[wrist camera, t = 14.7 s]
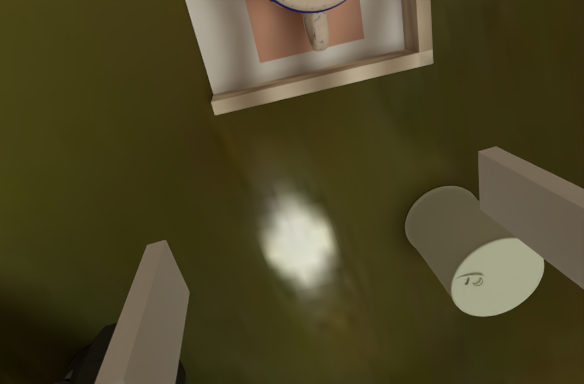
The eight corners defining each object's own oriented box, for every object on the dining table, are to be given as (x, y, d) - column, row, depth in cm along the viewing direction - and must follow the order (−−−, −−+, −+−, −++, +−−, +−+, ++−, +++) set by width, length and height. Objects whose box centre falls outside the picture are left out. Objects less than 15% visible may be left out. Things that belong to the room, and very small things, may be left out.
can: (412, 184, 44) (467, 241, 33) (487, 185, 45) (563, 240, 35) (398, 252, 48) (443, 322, 37) (467, 251, 49) (530, 318, 39)
